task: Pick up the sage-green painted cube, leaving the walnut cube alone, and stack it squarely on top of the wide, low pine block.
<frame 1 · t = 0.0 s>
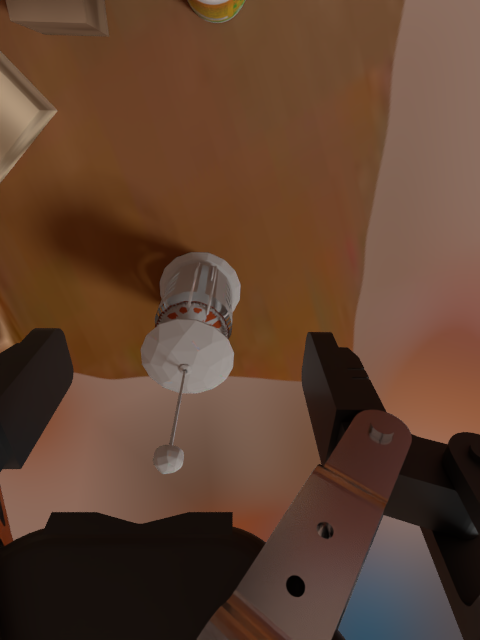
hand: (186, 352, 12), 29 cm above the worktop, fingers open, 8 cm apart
french press: (201, 283, 43), on the worktop
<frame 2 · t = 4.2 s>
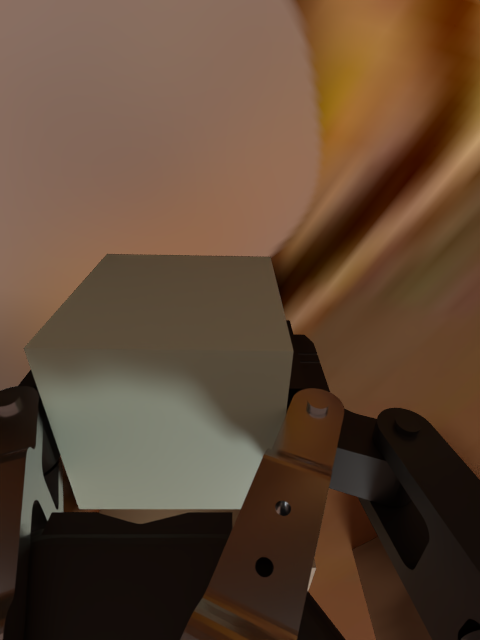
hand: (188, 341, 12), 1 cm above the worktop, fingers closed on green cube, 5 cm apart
pine block: (205, 535, 21), on the worktop
green cube: (192, 325, 13), on the worktop, touching gripper
walnut cube: (415, 546, 22), on the worktop
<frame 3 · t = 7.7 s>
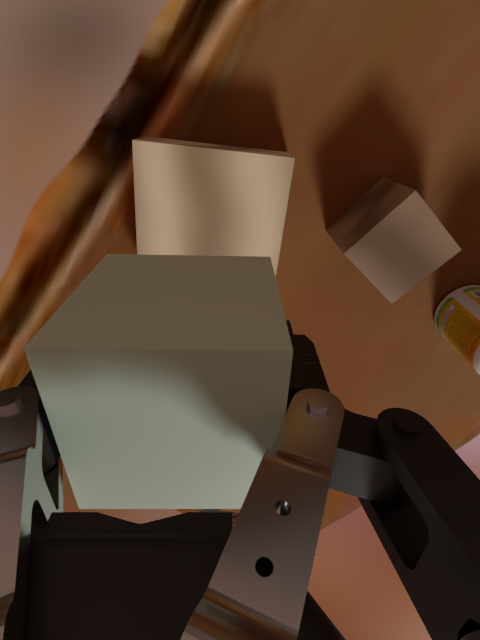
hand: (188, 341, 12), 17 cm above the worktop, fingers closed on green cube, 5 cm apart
pine block: (212, 214, 28), on the worktop
green cube: (192, 324, 13), point 16 cm above the worktop, touching gripper
supplement bottle: (461, 309, 32), on the worktop
walnut cube: (374, 228, 28), on the worktop
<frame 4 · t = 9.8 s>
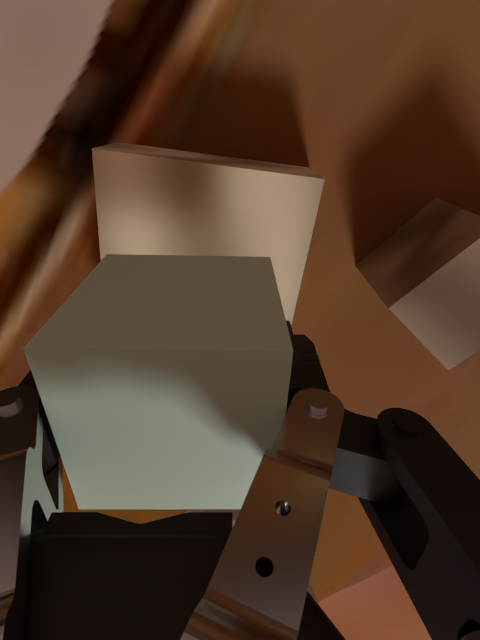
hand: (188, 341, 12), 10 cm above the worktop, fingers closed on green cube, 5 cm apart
pine block: (208, 245, 21), on the worktop
green cube: (192, 325, 13), point 9 cm above the worktop, touching gripper
walnut cube: (418, 262, 22), on the worktop
when the fingers open (6 cm above the worktop, at t = 11.4 s): green cube stays where it is, point 4 cm above the worktop.
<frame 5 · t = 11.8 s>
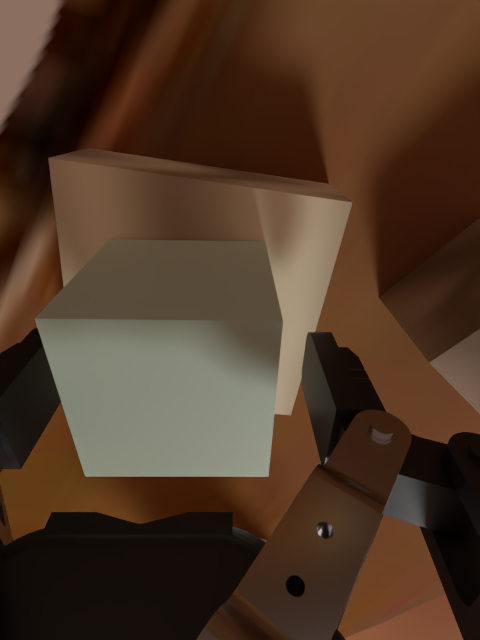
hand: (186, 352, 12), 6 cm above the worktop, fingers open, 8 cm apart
pine block: (202, 273, 18), on the worktop
green cube: (191, 308, 14), point 4 cm above the worktop
walnut cube: (455, 294, 18), on the worktop
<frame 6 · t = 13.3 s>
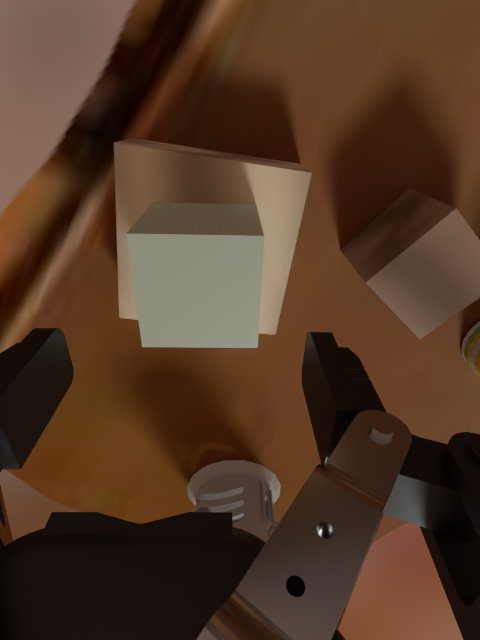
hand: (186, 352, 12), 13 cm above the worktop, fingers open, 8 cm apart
pine block: (209, 232, 24), on the worktop
green cube: (205, 252, 20), point 4 cm above the worktop
french press: (241, 486, 37), on the worktop
walnut cube: (396, 247, 24), on the worktop
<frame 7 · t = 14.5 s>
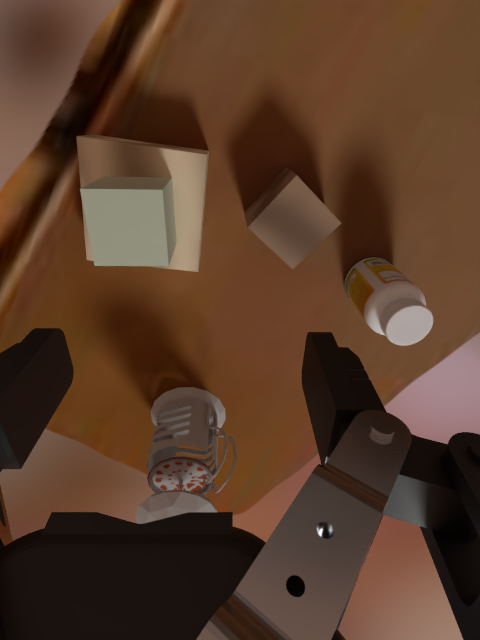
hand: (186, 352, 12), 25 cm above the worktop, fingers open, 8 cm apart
pine block: (151, 200, 34), on the worktop, touching green cube
green cube: (141, 211, 30), point 4 cm above the worktop, touching pine block
supplement bottle: (367, 279, 38), on the worktop
french press: (194, 411, 47), on the worktop
walnut cube: (284, 209, 34), on the worktop
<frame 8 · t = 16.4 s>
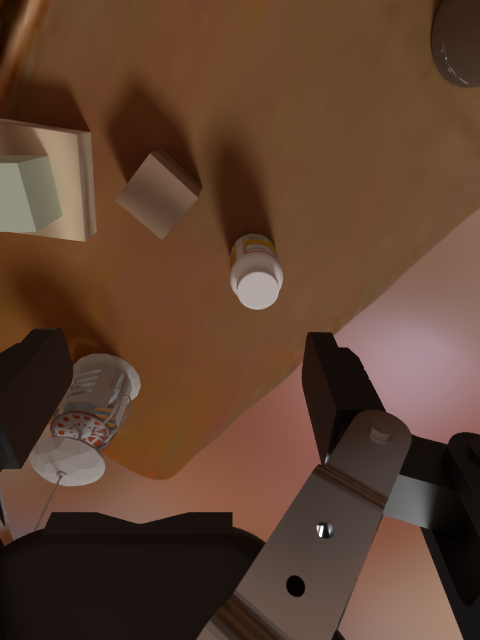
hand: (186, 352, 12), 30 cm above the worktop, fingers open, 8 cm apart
pine block: (46, 177, 38), on the worktop, touching green cube
green cube: (26, 186, 34), point 4 cm above the worktop, touching pine block
supplement bottle: (253, 254, 42), on the worktop
french press: (110, 377, 51), on the worktop
walnut cube: (166, 188, 38), on the worktop
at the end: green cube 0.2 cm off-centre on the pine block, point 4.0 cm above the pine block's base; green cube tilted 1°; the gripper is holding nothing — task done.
